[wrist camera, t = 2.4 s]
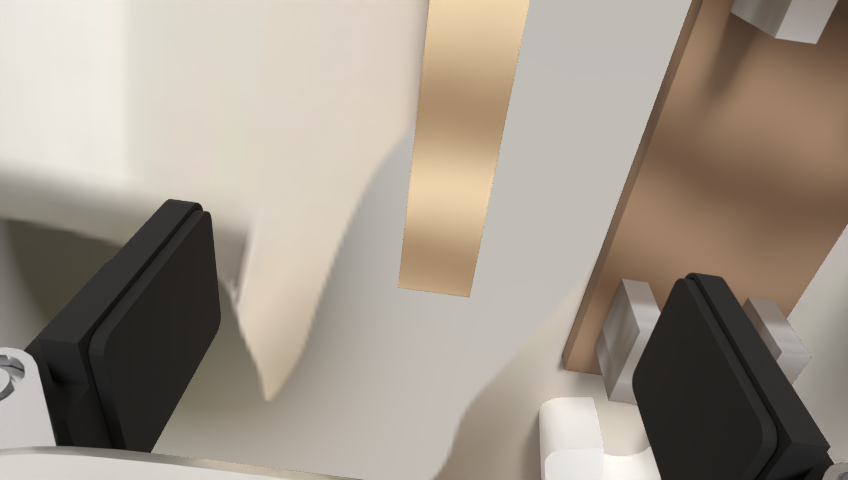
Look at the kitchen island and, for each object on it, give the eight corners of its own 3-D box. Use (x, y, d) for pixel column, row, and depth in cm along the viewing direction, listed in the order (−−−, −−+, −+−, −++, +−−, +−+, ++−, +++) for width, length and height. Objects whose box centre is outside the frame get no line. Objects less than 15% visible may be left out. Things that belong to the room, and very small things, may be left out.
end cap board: (773, -223, 17) (859, -248, 13) (1076, -178, 17) (1251, -190, 13) (562, 355, 30) (574, 425, 26) (730, 380, 30) (765, 453, 26)
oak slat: (456, -182, 18) (451, -192, 15) (550, -169, 18) (566, -177, 15) (408, 235, 27) (398, 287, 24) (470, 243, 27) (469, 297, 24)
